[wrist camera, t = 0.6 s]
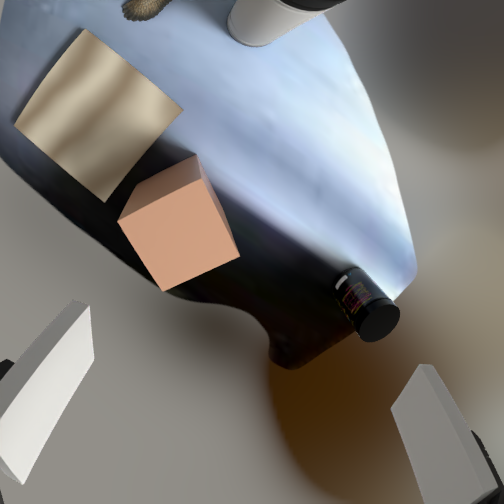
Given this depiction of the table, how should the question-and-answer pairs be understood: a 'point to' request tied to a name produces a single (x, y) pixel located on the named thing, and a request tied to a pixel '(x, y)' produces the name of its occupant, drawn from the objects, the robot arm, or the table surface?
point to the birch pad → (96, 114)
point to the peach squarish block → (178, 224)
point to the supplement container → (365, 304)
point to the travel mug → (271, 18)
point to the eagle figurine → (143, 9)
